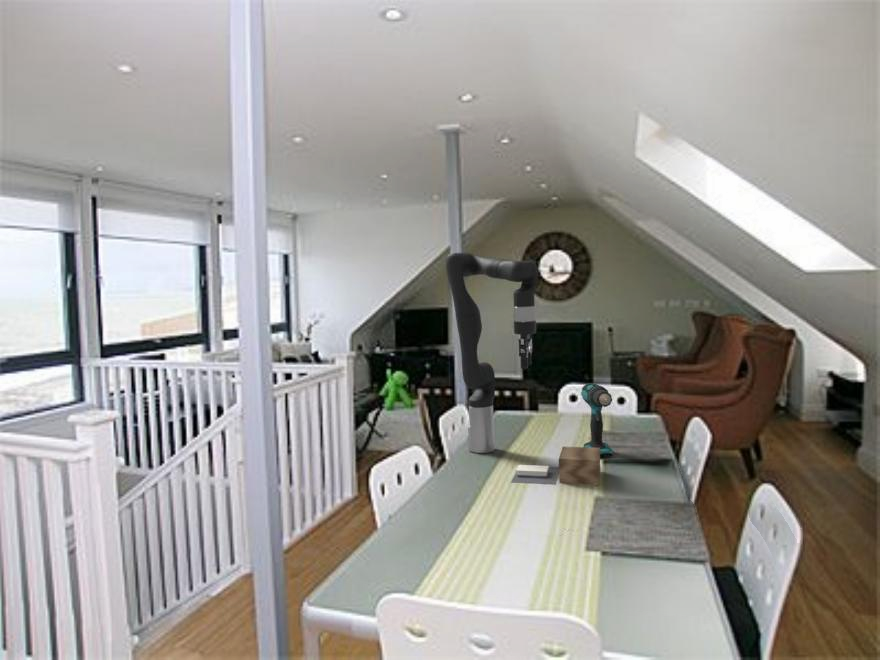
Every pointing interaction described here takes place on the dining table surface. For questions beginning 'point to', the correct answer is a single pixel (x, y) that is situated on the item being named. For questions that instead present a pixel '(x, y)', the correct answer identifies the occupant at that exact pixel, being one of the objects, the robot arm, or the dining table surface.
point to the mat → (539, 478)
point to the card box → (532, 470)
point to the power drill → (596, 414)
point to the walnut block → (579, 465)
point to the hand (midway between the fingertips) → (526, 366)
